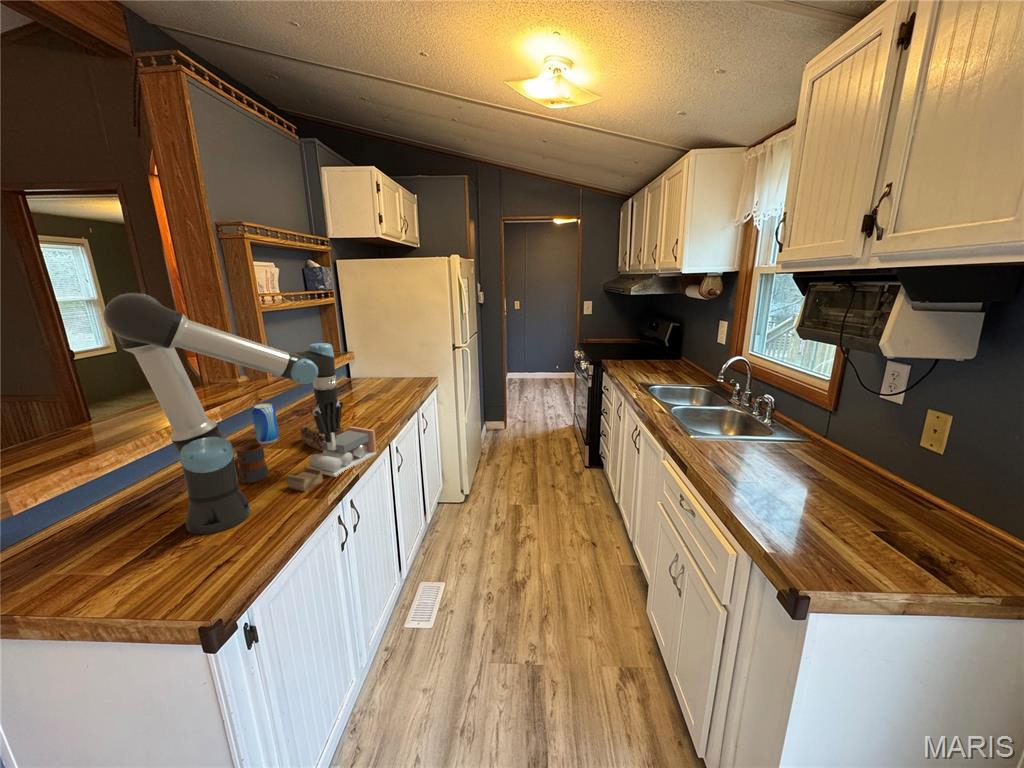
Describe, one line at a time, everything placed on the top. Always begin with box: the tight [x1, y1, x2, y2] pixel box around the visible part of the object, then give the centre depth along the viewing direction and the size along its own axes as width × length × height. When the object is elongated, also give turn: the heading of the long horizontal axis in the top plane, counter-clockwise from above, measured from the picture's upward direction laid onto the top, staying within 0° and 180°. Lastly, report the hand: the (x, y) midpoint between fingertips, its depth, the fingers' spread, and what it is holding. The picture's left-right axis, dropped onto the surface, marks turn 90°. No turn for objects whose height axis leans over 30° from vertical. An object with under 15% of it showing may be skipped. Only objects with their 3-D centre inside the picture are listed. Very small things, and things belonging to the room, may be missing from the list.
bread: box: [300, 419, 346, 452], centre depth 171 cm, size 19×11×10 cm, turn 52°
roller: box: [348, 445, 367, 458], centre depth 159 cm, size 10×5×5 cm, turn 69°
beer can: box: [251, 403, 280, 445], centre depth 174 cm, size 8×8×16 cm
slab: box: [323, 430, 369, 453], centre depth 155 cm, size 10×13×3 cm
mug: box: [234, 442, 269, 484], centre depth 139 cm, size 9×12×12 cm
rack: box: [286, 465, 324, 492], centre depth 138 cm, size 8×7×4 cm
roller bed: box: [309, 426, 378, 478], centre depth 154 cm, size 12×22×10 cm, turn 159°
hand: (332, 449), depth 149 cm, fingers closed
